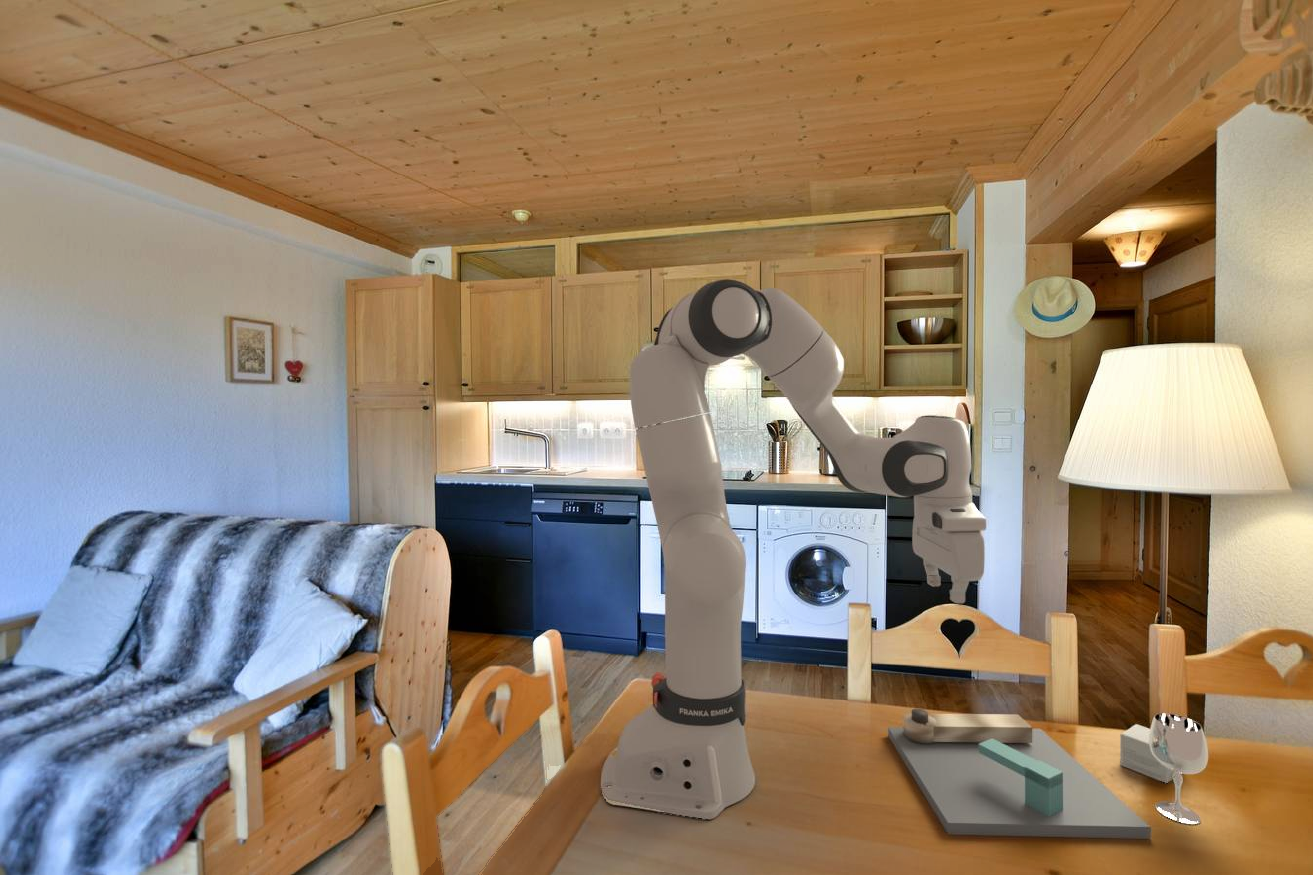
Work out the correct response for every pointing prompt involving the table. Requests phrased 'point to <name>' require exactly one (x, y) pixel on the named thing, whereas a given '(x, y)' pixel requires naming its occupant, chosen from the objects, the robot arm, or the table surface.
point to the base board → (1012, 792)
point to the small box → (1141, 754)
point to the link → (966, 727)
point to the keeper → (1030, 776)
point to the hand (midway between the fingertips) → (945, 593)
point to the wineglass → (1178, 758)
